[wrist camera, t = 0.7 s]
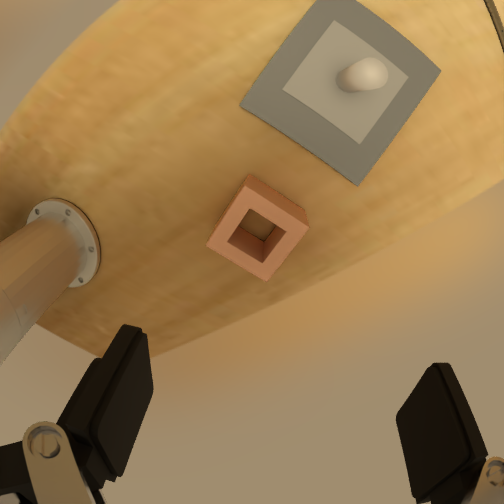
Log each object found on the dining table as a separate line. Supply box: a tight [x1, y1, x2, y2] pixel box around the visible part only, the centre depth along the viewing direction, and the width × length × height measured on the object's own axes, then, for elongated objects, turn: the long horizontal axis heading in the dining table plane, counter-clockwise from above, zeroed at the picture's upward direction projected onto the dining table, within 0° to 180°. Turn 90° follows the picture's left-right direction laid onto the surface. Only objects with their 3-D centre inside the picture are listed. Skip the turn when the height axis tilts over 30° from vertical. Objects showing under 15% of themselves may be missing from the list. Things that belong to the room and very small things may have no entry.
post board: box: [239, 0, 441, 186], centre depth 23 cm, size 16×14×10 cm
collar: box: [206, 174, 309, 282], centre depth 32 cm, size 7×7×5 cm
